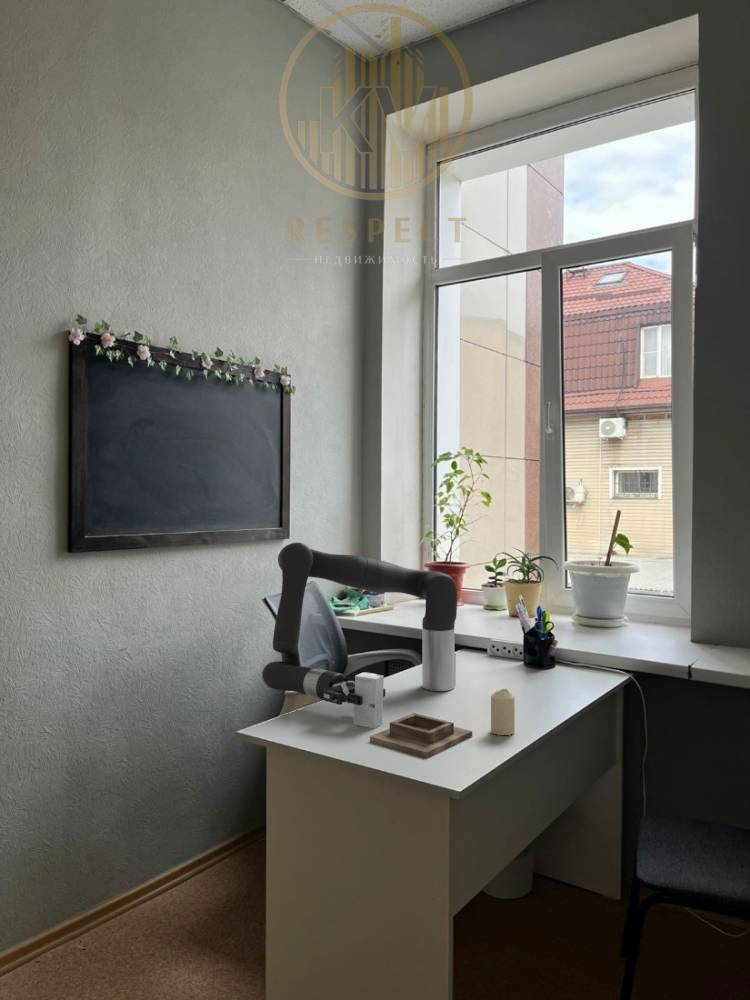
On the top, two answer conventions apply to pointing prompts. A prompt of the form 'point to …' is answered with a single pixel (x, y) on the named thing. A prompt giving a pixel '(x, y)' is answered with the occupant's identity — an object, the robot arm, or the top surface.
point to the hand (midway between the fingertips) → (373, 696)
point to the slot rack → (421, 735)
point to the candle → (502, 712)
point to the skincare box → (369, 700)
